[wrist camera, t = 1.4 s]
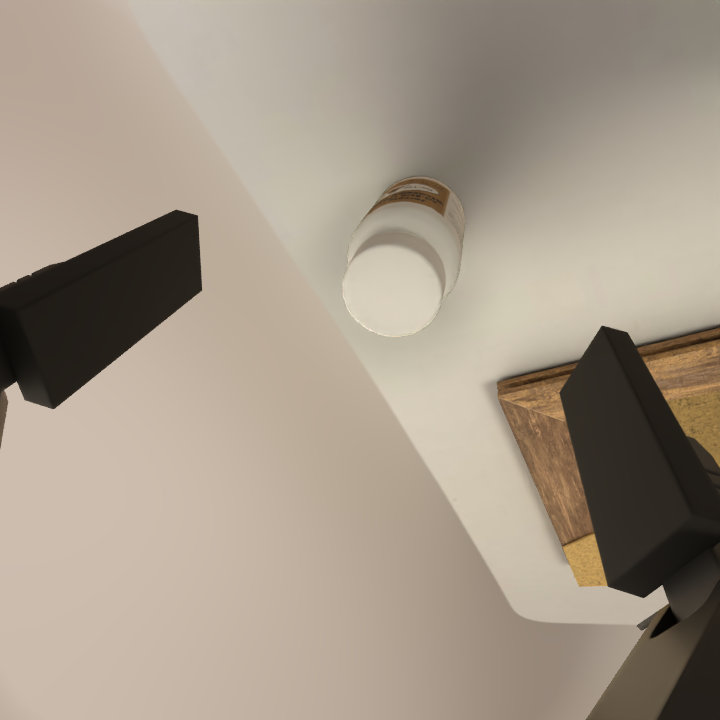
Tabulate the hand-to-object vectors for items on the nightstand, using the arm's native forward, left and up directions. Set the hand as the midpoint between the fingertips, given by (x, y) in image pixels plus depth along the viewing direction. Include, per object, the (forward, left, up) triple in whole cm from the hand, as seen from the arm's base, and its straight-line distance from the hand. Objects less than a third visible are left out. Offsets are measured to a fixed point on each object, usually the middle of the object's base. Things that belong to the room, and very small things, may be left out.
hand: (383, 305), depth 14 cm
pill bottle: (0, 0, -9) cm, 8 cm away
